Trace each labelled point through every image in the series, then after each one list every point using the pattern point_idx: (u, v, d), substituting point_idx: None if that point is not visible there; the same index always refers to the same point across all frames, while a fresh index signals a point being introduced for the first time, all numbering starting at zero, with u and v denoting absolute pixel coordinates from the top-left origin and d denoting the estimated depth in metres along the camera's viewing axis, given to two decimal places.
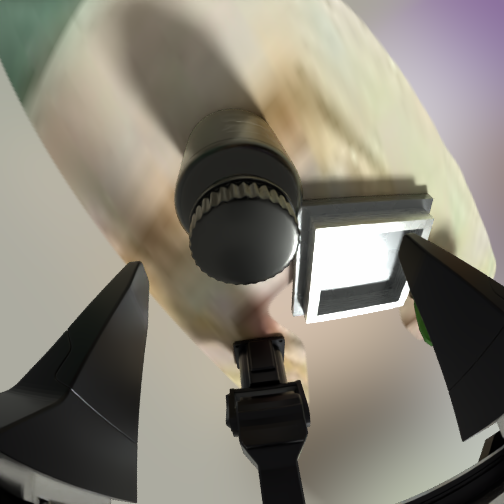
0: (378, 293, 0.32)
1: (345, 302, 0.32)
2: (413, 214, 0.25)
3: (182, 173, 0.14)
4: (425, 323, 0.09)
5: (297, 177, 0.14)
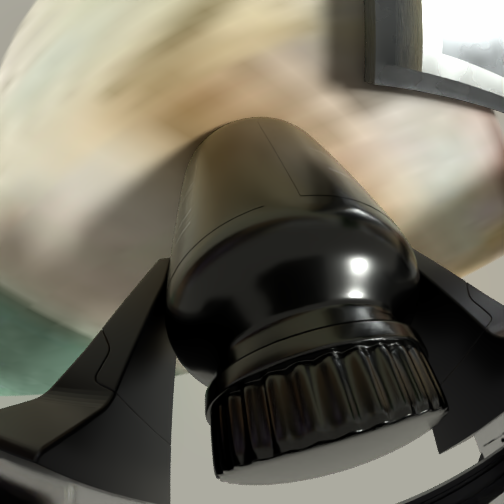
0: None
1: None
2: None
3: None
4: None
5: (242, 243, 0.05)
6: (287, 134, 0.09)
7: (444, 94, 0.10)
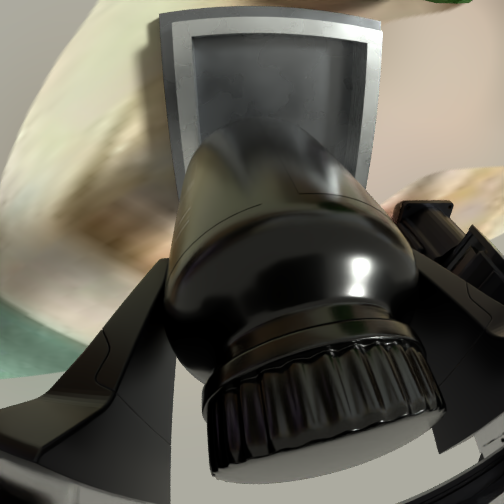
0: (354, 69, 0.16)
1: (352, 132, 0.18)
2: None
3: None
4: None
5: (240, 241, 0.05)
6: (287, 133, 0.09)
7: None
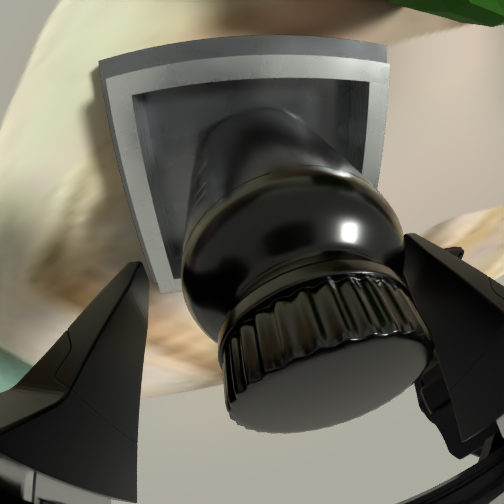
0: (352, 113, 0.13)
1: None
2: None
3: None
4: None
5: (253, 200, 0.06)
6: (288, 123, 0.10)
7: None
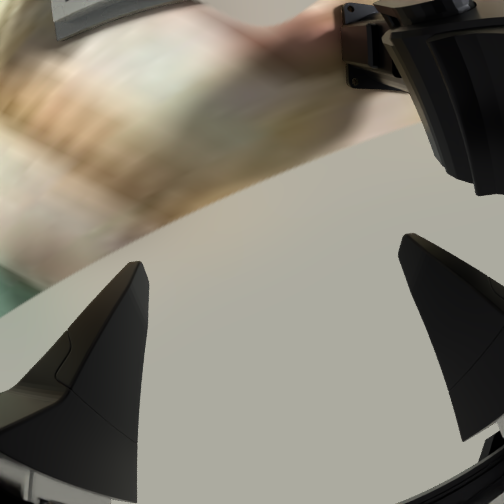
0: None
1: None
2: None
3: None
4: (425, 323, 0.09)
5: None
6: None
7: (110, 17, 0.12)
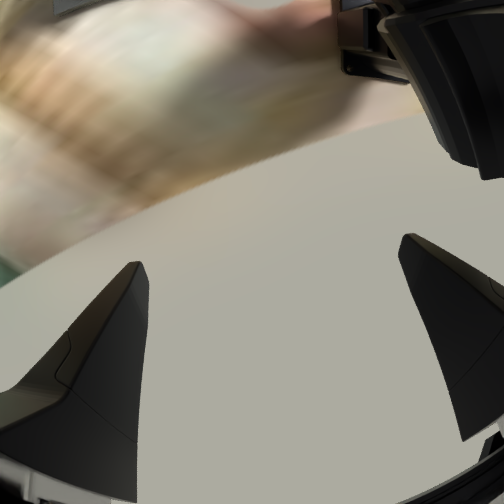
0: None
1: None
2: None
3: None
4: (425, 323, 0.09)
5: None
6: None
7: None
